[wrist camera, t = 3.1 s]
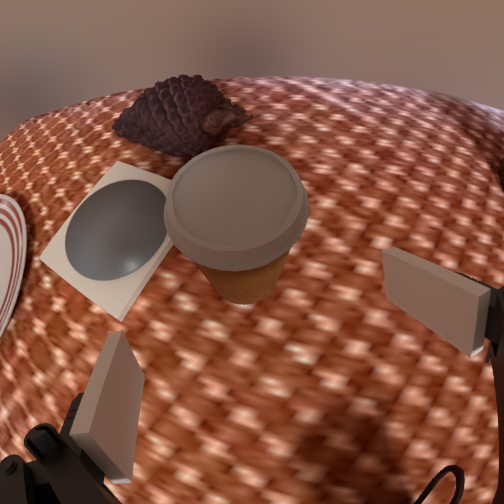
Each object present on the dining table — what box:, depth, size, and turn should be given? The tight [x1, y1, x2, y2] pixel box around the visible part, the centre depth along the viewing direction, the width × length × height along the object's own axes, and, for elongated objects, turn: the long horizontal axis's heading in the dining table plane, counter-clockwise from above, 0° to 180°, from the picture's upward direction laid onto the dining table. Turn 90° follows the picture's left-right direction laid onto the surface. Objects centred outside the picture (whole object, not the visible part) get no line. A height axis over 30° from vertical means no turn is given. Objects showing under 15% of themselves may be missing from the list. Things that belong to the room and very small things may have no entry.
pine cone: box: [112, 75, 253, 157], centre depth 34 cm, size 18×10×10 cm, turn 90°
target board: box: [39, 161, 173, 322], centre depth 32 cm, size 16×14×1 cm
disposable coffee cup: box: [164, 145, 309, 305], centre depth 24 cm, size 10×10×12 cm
